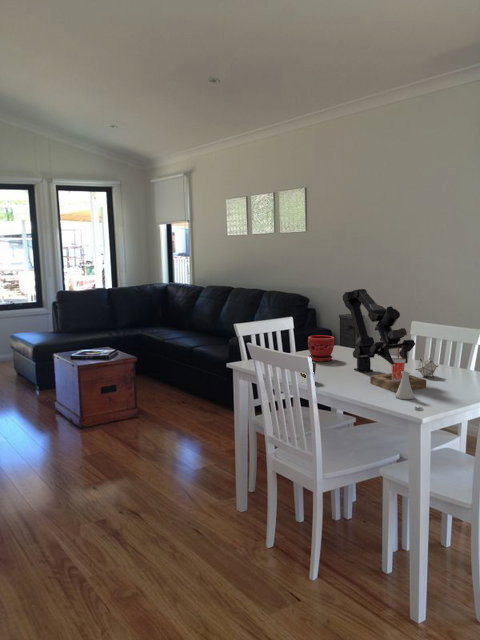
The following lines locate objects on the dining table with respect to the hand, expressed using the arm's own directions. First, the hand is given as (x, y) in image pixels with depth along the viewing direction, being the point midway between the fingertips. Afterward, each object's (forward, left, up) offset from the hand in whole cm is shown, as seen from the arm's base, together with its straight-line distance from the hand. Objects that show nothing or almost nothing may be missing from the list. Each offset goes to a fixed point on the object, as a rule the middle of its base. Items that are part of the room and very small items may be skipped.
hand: (399, 363), depth 239 cm
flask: (+15, -9, -10) cm, 20 cm away
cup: (-24, -30, -10) cm, 40 cm away
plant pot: (-60, -2, -10) cm, 61 cm away
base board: (-1, 0, -9) cm, 10 cm away
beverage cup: (-1, 0, -8) cm, 8 cm away
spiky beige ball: (-8, +21, -10) cm, 25 cm away
